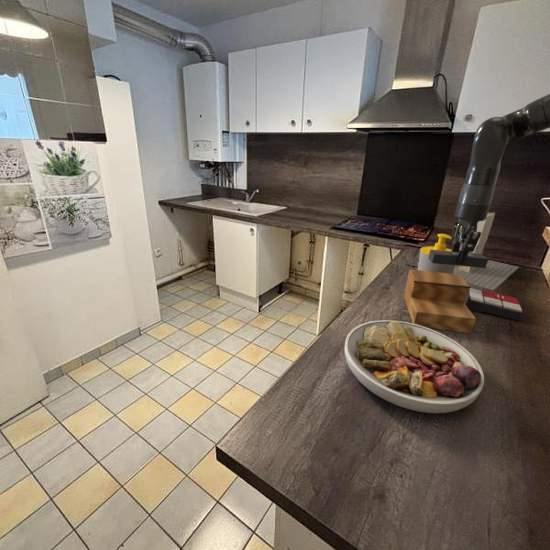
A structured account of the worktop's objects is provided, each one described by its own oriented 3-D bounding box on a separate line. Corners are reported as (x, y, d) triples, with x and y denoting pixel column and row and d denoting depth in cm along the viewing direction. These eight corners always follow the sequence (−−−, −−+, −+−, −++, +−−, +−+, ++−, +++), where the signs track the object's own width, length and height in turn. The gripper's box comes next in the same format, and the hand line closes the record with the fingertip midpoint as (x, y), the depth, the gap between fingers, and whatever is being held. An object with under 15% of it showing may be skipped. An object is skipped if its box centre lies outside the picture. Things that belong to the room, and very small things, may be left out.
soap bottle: (437, 296, 108) (451, 241, 100) (406, 283, 118) (416, 233, 110) (455, 288, 115) (470, 236, 106) (424, 277, 125) (436, 228, 116)
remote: (479, 262, 86) (481, 253, 85) (485, 268, 82) (488, 258, 81) (428, 258, 89) (430, 249, 88) (432, 263, 85) (434, 253, 84)
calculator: (525, 311, 91) (469, 297, 98) (519, 323, 93) (465, 308, 99) (518, 297, 100) (468, 285, 106) (513, 308, 102) (464, 296, 108)
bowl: (320, 373, 70) (322, 346, 67) (372, 323, 91) (376, 300, 88) (462, 452, 52) (474, 420, 49) (487, 366, 73) (496, 340, 70)
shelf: (451, 302, 104) (460, 274, 100) (472, 333, 86) (483, 300, 82) (403, 296, 108) (408, 269, 103) (412, 325, 90) (420, 293, 85)
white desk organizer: (445, 266, 137) (461, 204, 126) (458, 259, 147) (474, 200, 136) (468, 272, 130) (487, 207, 119) (480, 264, 140) (499, 203, 129)
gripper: (502, 206, 71) (481, 270, 78) (479, 198, 84) (462, 254, 91) (468, 204, 73) (450, 267, 80) (450, 196, 86) (436, 251, 92)
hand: (457, 260), depth 85 cm, fingers closed on remote, 4 cm apart
